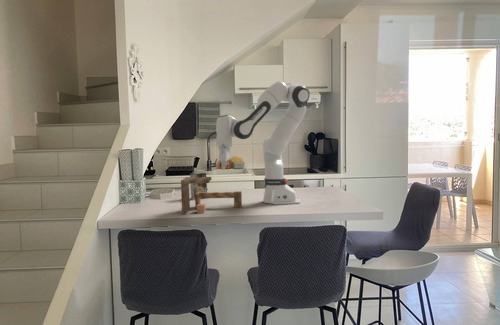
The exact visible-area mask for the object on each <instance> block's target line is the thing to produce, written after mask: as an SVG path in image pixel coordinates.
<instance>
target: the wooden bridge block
mask: <svg viewBox="0 0 500 325" xmlns="http://www.w3.org/2000/svg"><path fill="white" fill-rule="evenodd" d="M242 192H243V191H213V192H212V191H209V192H208V191H207V192H200V191H198V192H197V193H196V194H195V199H194V205H195V206H194V207H195V210H197V205H198V204H202V203H201V199H200V198H203V199H233V209H242V207H243V201H242V199H243V198H242V197H243V194H242Z"/></svg>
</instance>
